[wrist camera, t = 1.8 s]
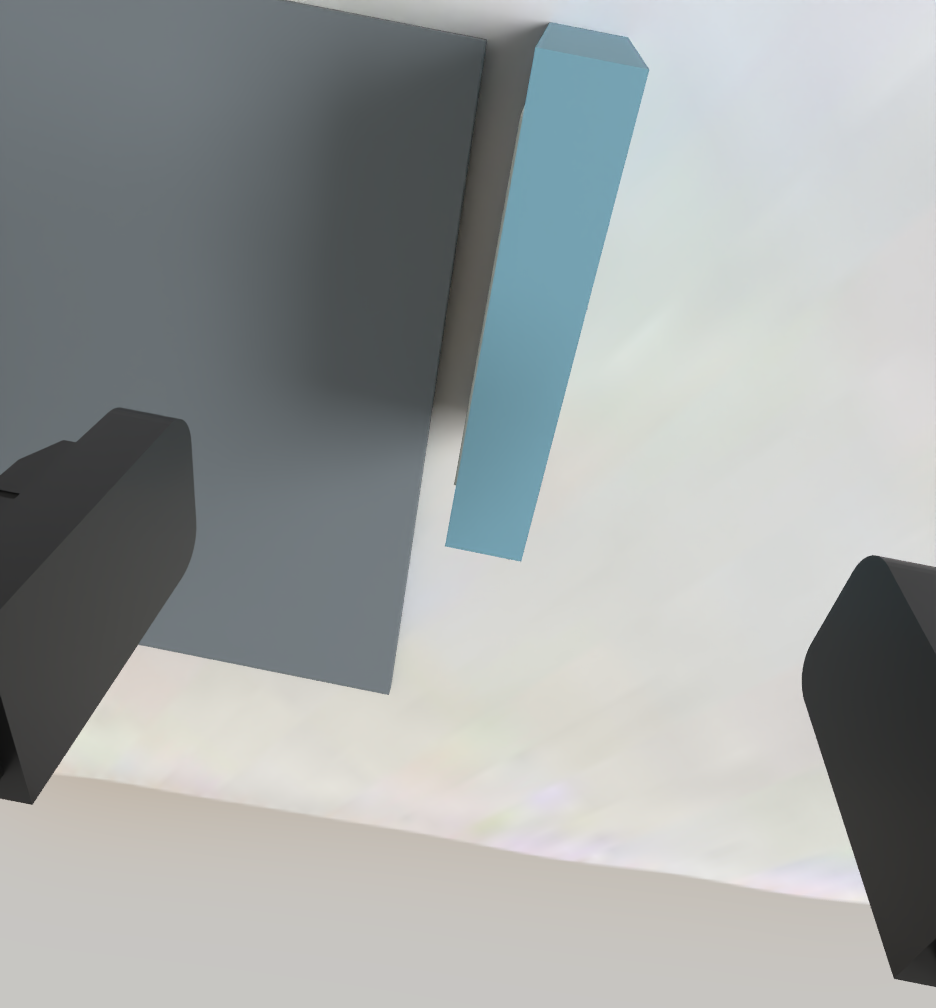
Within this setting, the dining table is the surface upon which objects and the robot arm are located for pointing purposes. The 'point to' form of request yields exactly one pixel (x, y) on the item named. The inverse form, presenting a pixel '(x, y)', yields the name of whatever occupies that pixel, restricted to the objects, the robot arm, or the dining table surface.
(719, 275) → the dining table surface
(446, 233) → the mat
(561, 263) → the card box
